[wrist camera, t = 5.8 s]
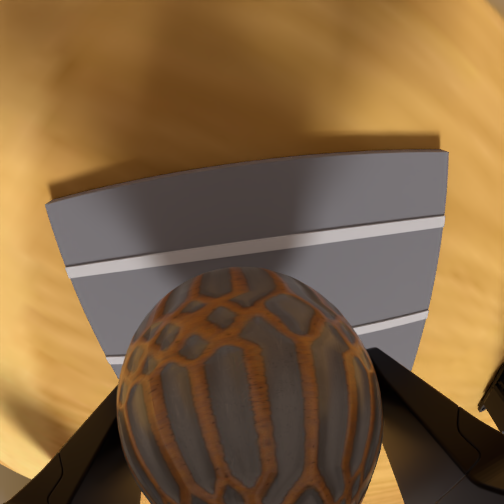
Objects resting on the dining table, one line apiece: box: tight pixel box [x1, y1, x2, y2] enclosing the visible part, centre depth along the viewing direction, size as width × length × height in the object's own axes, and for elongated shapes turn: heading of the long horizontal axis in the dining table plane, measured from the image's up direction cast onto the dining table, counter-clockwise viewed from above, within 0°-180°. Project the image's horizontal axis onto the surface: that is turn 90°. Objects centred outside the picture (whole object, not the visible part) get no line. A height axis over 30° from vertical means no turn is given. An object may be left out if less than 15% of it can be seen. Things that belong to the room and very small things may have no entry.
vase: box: [117, 267, 384, 504], centre depth 7 cm, size 7×7×9 cm
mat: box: [45, 149, 449, 379], centre depth 14 cm, size 16×16×1 cm
